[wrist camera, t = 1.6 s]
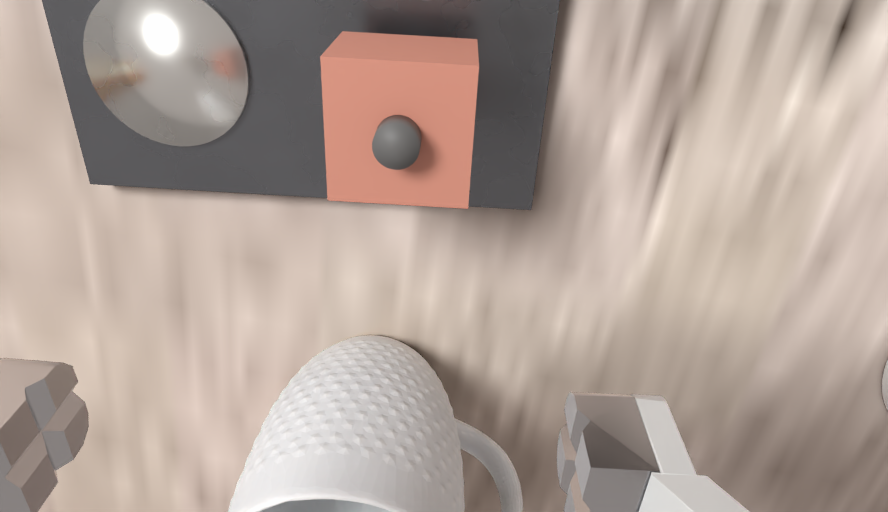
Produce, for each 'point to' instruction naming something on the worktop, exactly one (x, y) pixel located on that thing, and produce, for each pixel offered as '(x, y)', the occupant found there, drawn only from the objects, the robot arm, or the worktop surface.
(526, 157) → the base
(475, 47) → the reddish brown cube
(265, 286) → the worktop surface
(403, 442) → the mug
